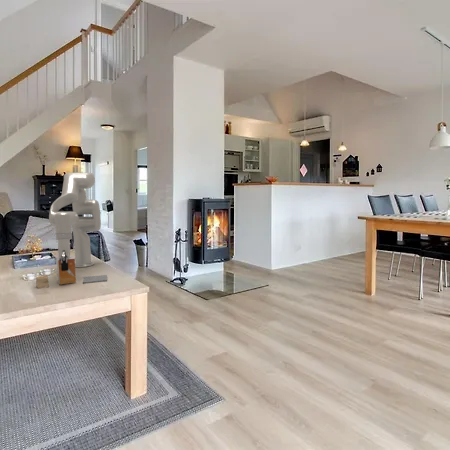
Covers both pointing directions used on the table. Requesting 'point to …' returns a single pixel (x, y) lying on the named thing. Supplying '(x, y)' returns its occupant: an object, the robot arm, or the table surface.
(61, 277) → the small box
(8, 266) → the table surface
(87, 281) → the felt mat
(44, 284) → the oak block
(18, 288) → the table surface
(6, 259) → the table surface
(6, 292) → the table surface
